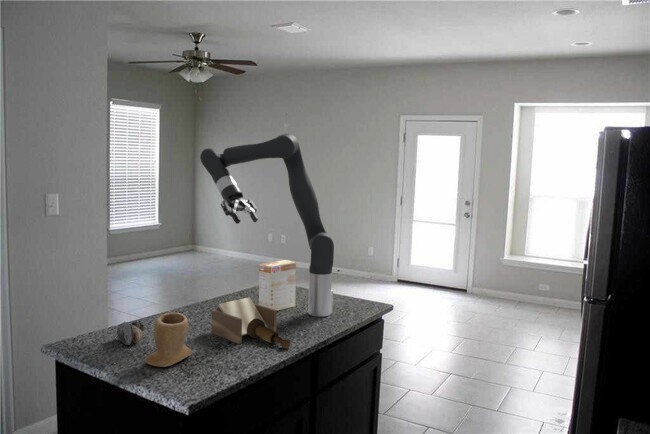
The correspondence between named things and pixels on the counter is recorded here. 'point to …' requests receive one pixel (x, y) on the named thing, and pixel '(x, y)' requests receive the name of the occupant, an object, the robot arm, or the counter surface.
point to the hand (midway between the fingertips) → (247, 221)
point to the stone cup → (169, 340)
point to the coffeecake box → (277, 284)
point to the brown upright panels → (239, 323)
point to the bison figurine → (130, 332)
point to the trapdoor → (241, 311)
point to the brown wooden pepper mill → (265, 333)
